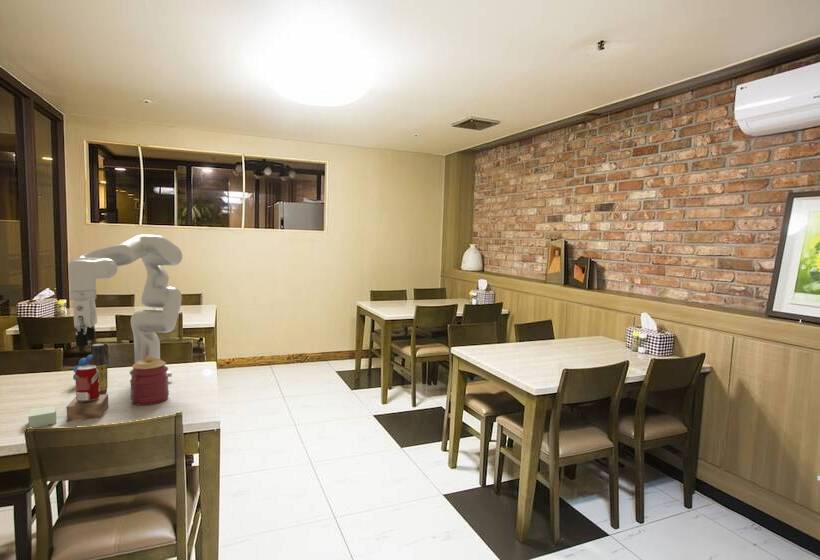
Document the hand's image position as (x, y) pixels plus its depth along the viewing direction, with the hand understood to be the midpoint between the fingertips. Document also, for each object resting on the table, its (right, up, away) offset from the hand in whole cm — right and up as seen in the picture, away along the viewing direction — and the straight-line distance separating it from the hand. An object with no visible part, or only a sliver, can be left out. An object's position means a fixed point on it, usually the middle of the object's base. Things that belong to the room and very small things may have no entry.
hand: (85, 342), depth 162 cm
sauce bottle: (-10, -24, +21) cm, 33 cm away
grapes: (-23, -22, +34) cm, 47 cm away
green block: (-9, -26, -8) cm, 29 cm away
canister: (+14, -25, +15) cm, 32 cm away
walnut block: (+1, -25, 0) cm, 25 cm away
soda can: (+1, -21, 0) cm, 21 cm away
